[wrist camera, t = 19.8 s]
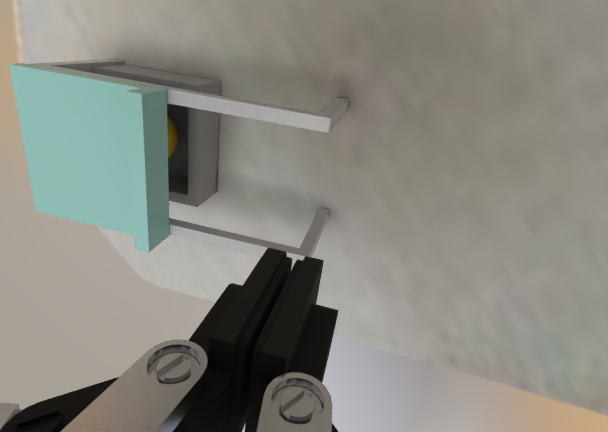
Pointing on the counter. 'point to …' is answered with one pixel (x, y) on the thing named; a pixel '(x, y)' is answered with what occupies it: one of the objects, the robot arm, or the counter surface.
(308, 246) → the housing
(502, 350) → the counter surface
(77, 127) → the lid
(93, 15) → the counter surface
